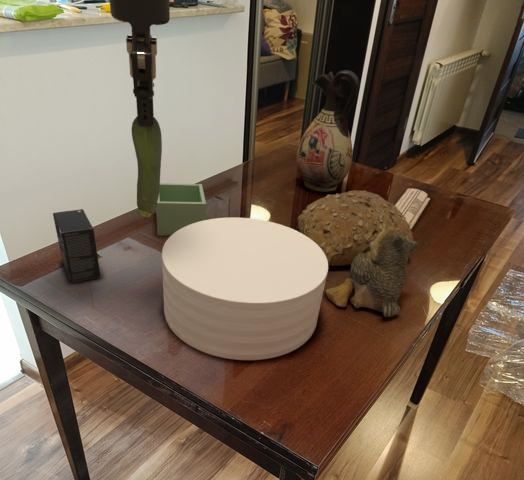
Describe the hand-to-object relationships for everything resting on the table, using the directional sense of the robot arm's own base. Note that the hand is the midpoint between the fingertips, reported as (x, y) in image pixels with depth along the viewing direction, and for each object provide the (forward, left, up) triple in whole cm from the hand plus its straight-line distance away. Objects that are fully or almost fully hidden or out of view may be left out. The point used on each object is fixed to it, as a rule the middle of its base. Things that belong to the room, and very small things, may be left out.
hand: (146, 120), depth 72 cm
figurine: (+41, -4, -30) cm, 51 cm away
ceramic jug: (+47, +51, -30) cm, 76 cm away
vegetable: (0, 0, -15) cm, 15 cm away
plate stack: (+16, -7, -30) cm, 35 cm away
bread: (+44, +17, -30) cm, 56 cm away
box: (-14, +7, -30) cm, 34 cm away
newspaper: (+68, +37, -30) cm, 83 cm away
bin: (+6, +27, -30) cm, 41 cm away
